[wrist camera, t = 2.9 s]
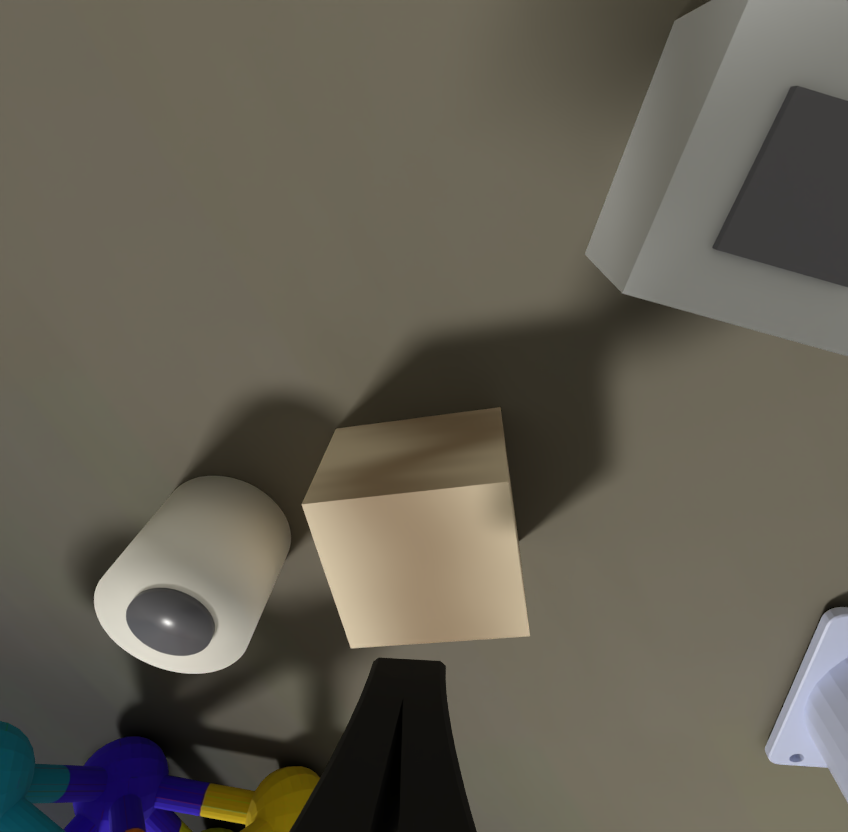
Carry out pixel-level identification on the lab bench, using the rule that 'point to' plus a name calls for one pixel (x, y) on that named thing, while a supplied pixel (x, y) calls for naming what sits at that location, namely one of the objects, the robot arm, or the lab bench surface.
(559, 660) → the lab bench surface
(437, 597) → the beech block
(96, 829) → the molecular model
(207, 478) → the offwhite stopper
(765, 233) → the grey labelled block
